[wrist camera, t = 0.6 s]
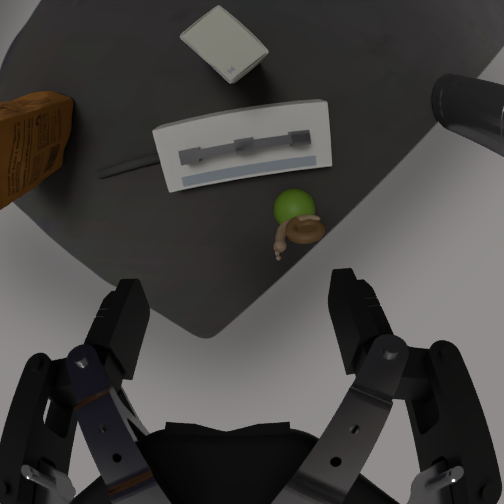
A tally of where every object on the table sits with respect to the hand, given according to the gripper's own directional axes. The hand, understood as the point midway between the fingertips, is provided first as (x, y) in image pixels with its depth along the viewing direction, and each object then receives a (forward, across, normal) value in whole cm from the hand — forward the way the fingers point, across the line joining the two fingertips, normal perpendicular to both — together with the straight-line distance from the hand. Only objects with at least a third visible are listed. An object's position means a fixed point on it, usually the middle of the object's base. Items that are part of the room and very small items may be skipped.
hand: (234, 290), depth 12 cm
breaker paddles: (+24, 0, 0) cm, 24 cm away
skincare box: (+28, +1, -11) cm, 30 cm away
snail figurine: (+28, -6, +9) cm, 30 cm away
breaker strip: (+27, +5, 0) cm, 28 cm away
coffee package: (+27, +27, -6) cm, 39 cm away
